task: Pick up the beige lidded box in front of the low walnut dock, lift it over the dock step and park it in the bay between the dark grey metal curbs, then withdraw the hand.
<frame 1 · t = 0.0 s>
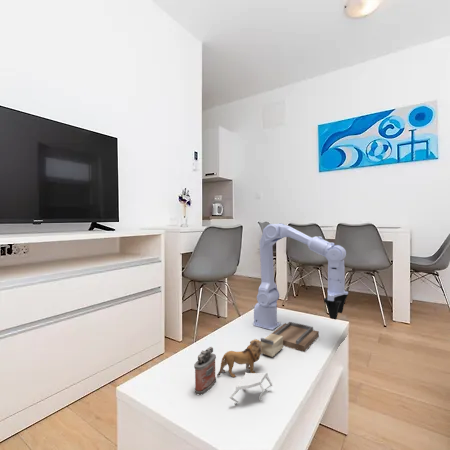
hand: (336, 315, 101), 10 cm above the table, tool pointing down, fingers open, 7 cm apart
lion figurine: (241, 372, 83), on the table
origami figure: (248, 398, 71), on the table
dock: (293, 338, 105), on the table
beige lidded box: (272, 352, 95), on the table
lighter: (205, 387, 76), on the table
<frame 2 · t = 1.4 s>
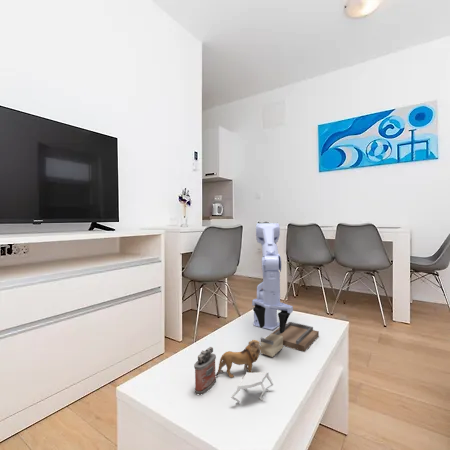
hand: (271, 329, 94), 8 cm above the table, tool pointing down, fingers open, 7 cm apart
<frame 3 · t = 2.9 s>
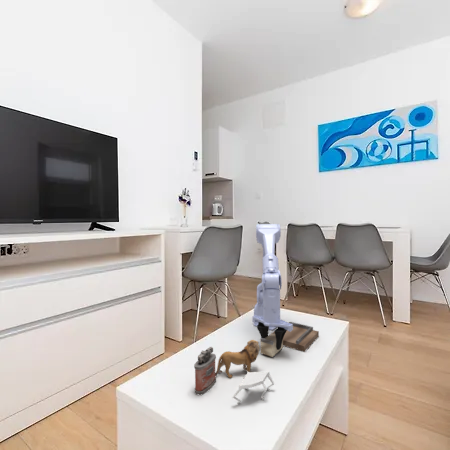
hand: (272, 346, 95), 2 cm above the table, tool pointing down, fingers closed on beige lidded box, 4 cm apart
beige lidded box: (272, 352, 95), on the table, touching gripper
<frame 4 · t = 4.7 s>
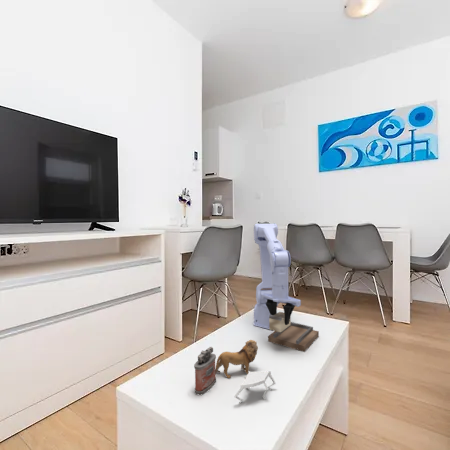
hand: (280, 322, 98), 9 cm above the table, tool pointing down, fingers closed on beige lidded box, 4 cm apart
beige lidded box: (280, 328, 98), point 7 cm above the table, touching gripper
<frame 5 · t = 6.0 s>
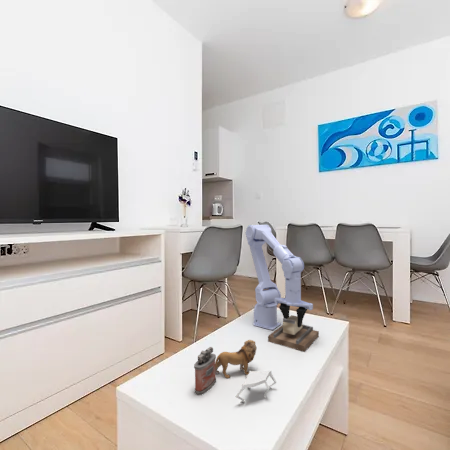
hand: (293, 324, 104), 5 cm above the table, tool pointing down, fingers closed on beige lidded box, 4 cm apart
beige lidded box: (292, 331, 104), point 3 cm above the table, touching gripper
when the fingers open (5 cm above the table, at t = 6.8 s): beige lidded box drops 1 cm, resting on dock.
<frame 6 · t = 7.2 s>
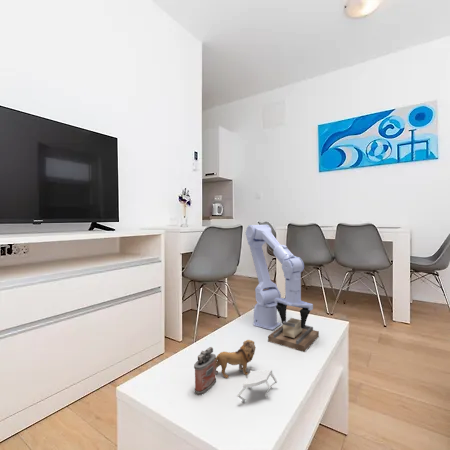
hand: (293, 325, 104), 5 cm above the table, tool pointing down, fingers open, 7 cm apart
beige lidded box: (292, 334, 104), point 2 cm above the table, touching dock
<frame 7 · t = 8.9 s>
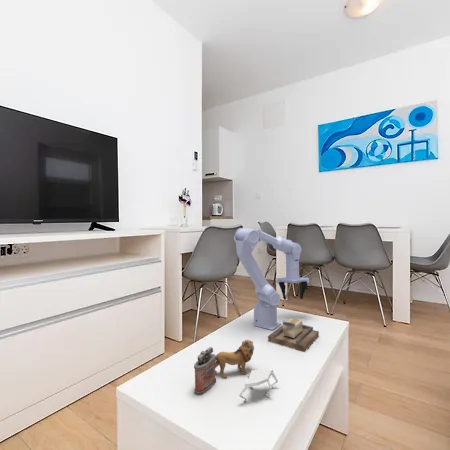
hand: (292, 298, 124), 9 cm above the table, tool pointing down, fingers open, 7 cm apart
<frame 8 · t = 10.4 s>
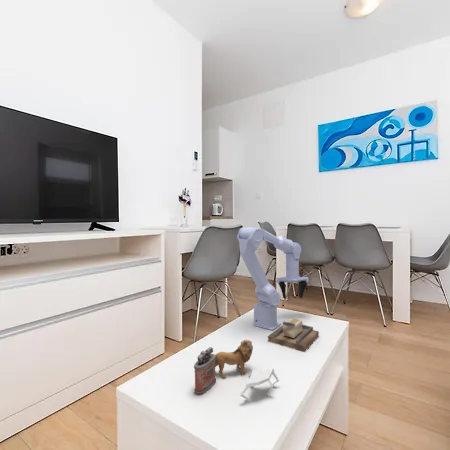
hand: (292, 297, 126), 9 cm above the table, tool pointing down, fingers open, 7 cm apart
at the end: beige lidded box 0.3 cm off-centre on the dock, point 2.0 cm above the dock's base; beige lidded box tilted 0°; the gripper is holding nothing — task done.
